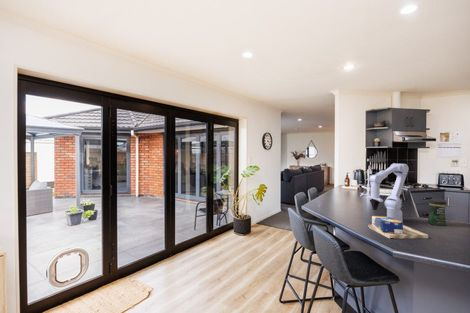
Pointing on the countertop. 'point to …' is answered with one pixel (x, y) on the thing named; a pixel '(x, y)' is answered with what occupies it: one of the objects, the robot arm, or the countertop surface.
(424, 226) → the countertop surface
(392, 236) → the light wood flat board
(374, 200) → the robot arm
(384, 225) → the beverage box
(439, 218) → the coffee jar
